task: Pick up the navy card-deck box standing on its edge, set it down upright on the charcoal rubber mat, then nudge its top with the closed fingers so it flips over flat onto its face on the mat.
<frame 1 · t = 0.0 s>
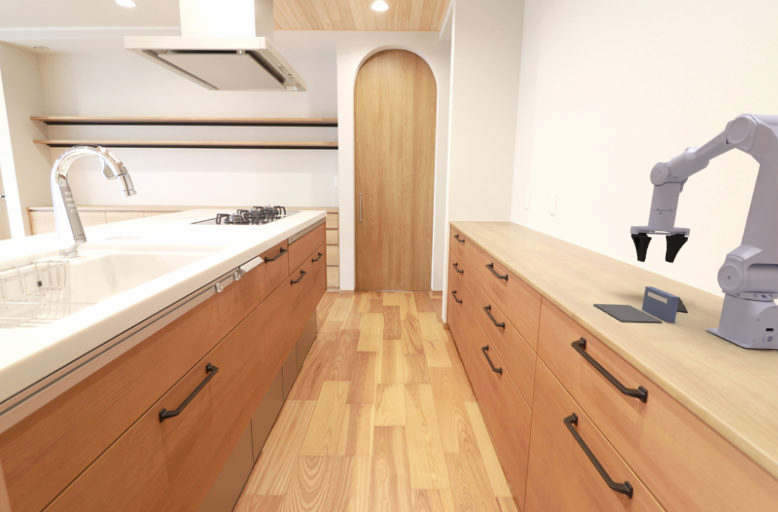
hand: (655, 261, 107), 10 cm above the counter, fingers open, 7 cm apart
mat: (625, 313, 94), on the counter
smartphone: (666, 305, 105), on the counter
deck: (657, 316, 94), on the counter
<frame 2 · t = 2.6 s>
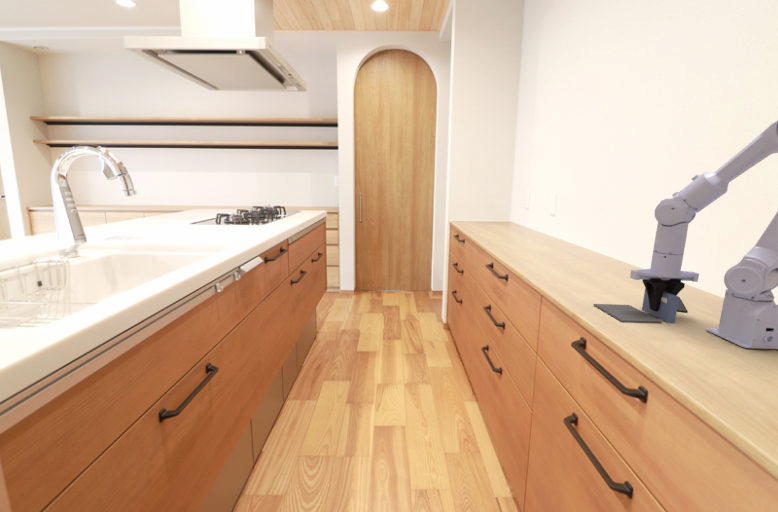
hand: (658, 310, 93), 1 cm above the counter, fingers closed on deck, 2 cm apart
deck: (657, 316, 94), on the counter, touching gripper
everything else where it was.
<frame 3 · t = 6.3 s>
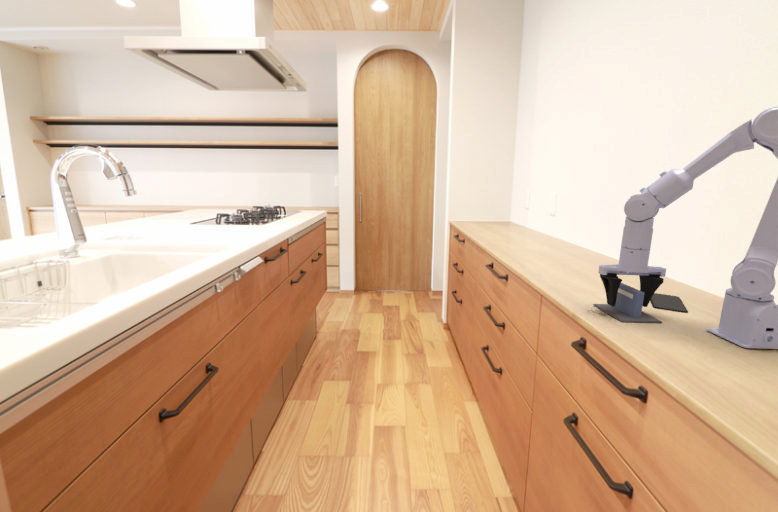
hand: (626, 305, 94), 2 cm above the counter, fingers open, 7 cm apart
deck: (625, 311, 95), resting on mat
everything else where it was.
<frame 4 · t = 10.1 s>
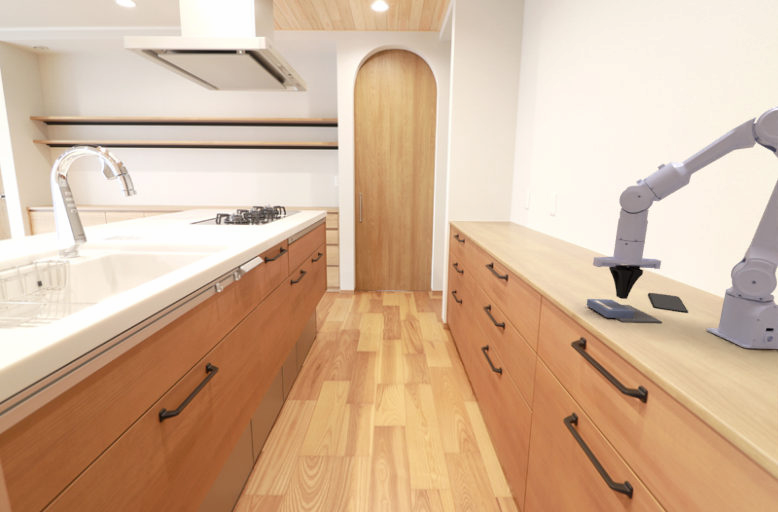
hand: (621, 297, 94), 4 cm above the counter, fingers closed
deck: (621, 308, 94), point 1 cm above the counter, tilted 90°, touching mat
everything else where it was.
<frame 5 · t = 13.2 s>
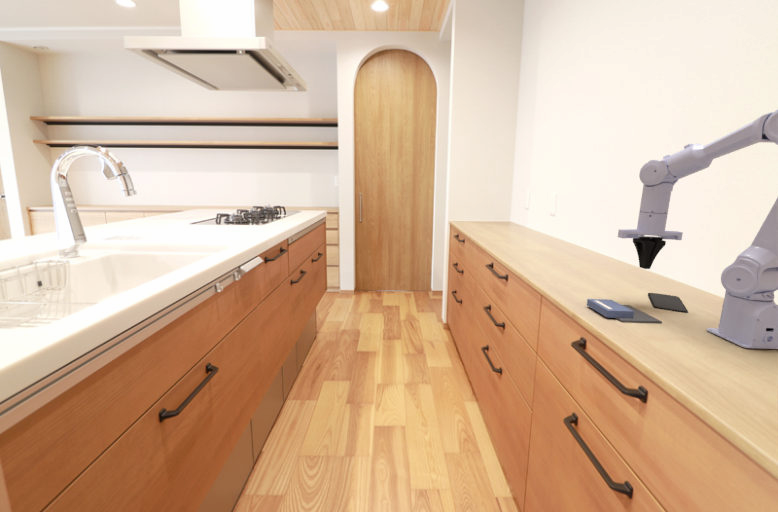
hand: (644, 268, 99), 10 cm above the counter, fingers closed
nothing on the counter moved.
at the end: deck tilted 90°; deck inside the target area on the mat (0.2 cm from its centre), point 1.2 cm above the mat's base; the gripper is holding nothing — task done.
